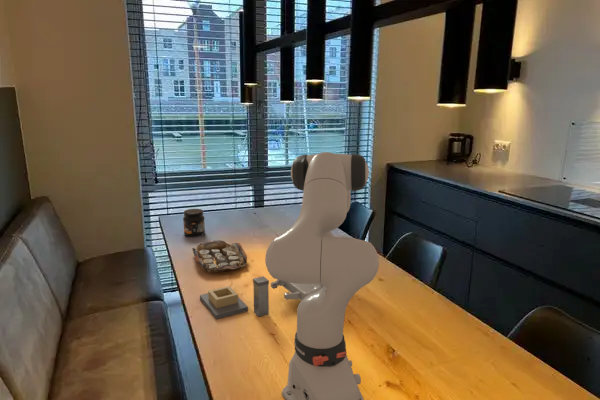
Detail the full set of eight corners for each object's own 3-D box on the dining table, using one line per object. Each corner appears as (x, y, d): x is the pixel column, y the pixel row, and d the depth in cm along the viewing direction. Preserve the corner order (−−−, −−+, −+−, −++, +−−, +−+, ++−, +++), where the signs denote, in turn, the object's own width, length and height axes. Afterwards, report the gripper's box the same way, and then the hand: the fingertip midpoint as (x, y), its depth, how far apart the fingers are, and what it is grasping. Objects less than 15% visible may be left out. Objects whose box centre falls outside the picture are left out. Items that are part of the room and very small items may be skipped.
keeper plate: (247, 310, 144) (247, 298, 143) (216, 319, 138) (215, 306, 137) (229, 291, 157) (229, 280, 156) (199, 299, 152) (199, 287, 151)
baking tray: (256, 272, 175) (256, 259, 174) (203, 281, 166) (202, 268, 165) (234, 248, 202) (234, 237, 200) (187, 255, 192) (186, 243, 191)
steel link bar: (269, 314, 142) (268, 280, 139) (258, 317, 140) (258, 283, 137) (263, 309, 145) (263, 276, 142) (253, 312, 143) (252, 278, 140)
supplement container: (180, 233, 220) (178, 210, 217) (198, 229, 227) (197, 207, 224) (190, 238, 212) (189, 215, 210) (209, 234, 219) (208, 211, 216)
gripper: (298, 263, 159) (264, 271, 152) (330, 284, 142) (293, 294, 135) (297, 279, 160) (264, 288, 153) (329, 302, 143) (293, 312, 136)
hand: (278, 291), depth 144 cm, fingers open, 8 cm apart
